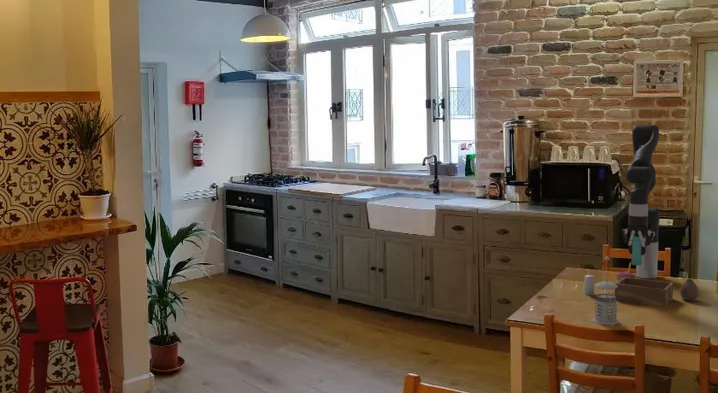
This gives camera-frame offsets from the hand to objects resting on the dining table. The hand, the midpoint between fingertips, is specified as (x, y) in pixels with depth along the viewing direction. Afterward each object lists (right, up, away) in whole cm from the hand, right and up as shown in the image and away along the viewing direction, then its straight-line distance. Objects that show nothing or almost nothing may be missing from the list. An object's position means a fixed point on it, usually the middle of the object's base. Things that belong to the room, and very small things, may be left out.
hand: (637, 254), depth 300 cm
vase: (+21, -19, -1) cm, 29 cm away
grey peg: (-17, -18, +11) cm, 27 cm away
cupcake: (+3, -17, +21) cm, 27 cm away
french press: (-23, -23, -29) cm, 43 cm away
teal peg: (0, -4, 0) cm, 4 cm away
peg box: (+3, -19, +1) cm, 19 cm away
